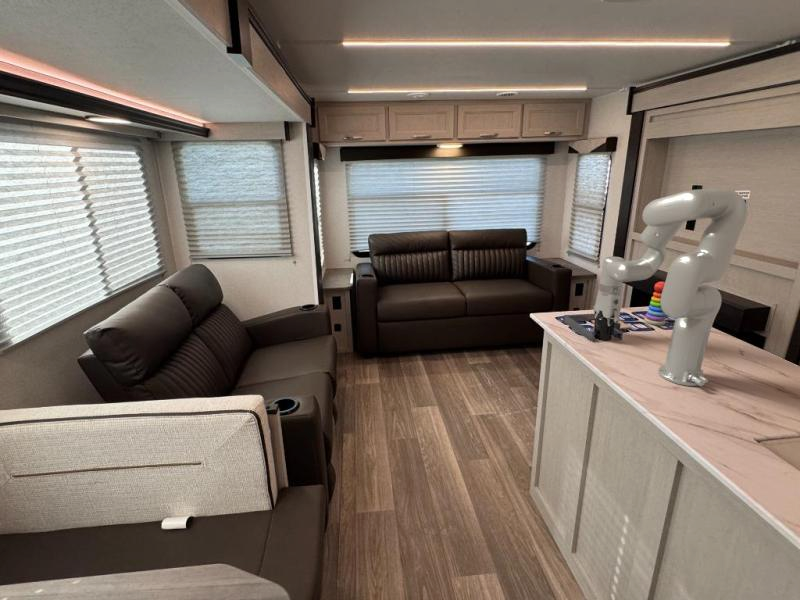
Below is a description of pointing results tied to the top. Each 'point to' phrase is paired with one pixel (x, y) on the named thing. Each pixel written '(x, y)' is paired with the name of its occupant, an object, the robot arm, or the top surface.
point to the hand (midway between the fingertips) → (603, 330)
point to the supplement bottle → (601, 328)
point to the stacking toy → (656, 307)
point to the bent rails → (572, 322)
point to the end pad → (620, 326)
